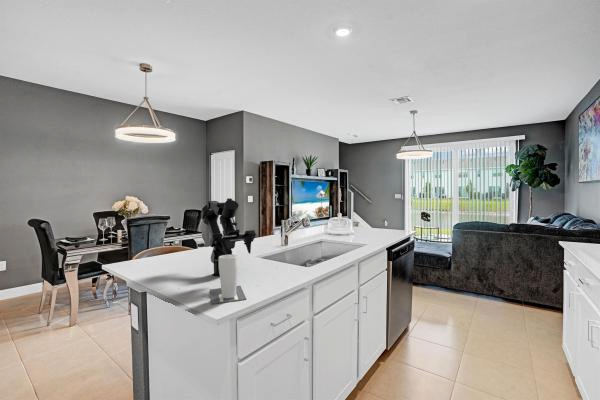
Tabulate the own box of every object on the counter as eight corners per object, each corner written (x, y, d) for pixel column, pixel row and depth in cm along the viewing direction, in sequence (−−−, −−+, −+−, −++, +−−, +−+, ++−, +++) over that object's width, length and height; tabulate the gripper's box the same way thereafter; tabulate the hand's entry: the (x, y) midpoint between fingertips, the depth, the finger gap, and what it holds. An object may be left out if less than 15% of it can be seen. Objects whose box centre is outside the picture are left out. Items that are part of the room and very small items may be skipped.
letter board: (210, 290, 118) (210, 289, 118) (240, 286, 122) (240, 285, 122) (211, 304, 103) (211, 303, 103) (246, 299, 107) (246, 298, 107)
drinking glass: (225, 292, 113) (224, 254, 113) (241, 294, 112) (240, 254, 111) (216, 299, 107) (214, 258, 106) (232, 300, 105) (231, 258, 105)
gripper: (243, 234, 138) (254, 262, 130) (203, 238, 128) (212, 269, 119) (250, 219, 132) (262, 247, 123) (208, 222, 121) (218, 253, 112)
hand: (239, 254), depth 119 cm, fingers open, 9 cm apart
